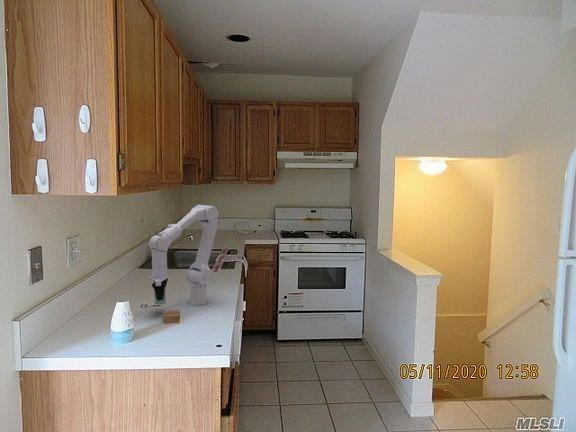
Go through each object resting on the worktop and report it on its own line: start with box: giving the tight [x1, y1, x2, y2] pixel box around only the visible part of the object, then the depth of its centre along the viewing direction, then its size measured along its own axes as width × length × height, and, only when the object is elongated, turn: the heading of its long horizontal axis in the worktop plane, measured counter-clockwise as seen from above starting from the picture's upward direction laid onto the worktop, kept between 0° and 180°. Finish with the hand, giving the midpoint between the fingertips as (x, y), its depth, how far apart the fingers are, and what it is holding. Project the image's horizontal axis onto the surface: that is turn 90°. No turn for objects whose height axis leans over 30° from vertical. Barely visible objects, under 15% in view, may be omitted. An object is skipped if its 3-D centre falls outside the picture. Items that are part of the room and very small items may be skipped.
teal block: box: [153, 288, 167, 305], centre depth 160 cm, size 4×4×5 cm
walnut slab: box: [162, 309, 181, 325], centre depth 153 cm, size 6×6×3 cm
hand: (160, 298), depth 160 cm, fingers closed on teal block, 4 cm apart
